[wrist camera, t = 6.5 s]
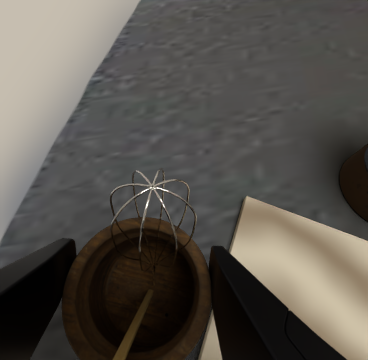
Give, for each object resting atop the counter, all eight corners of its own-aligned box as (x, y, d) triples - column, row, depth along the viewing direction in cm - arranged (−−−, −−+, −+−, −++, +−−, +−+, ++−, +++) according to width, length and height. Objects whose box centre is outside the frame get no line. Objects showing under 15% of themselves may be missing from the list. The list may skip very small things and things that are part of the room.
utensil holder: (207, 249, 15) (304, 153, 4) (188, 365, 12) (322, 874, 2) (121, 229, 15) (9, 91, 5) (84, 340, 13) (-412, 651, 2)
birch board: (377, 556, 14) (391, 574, 13) (171, 452, 16) (171, 462, 15) (379, 249, 23) (388, 248, 22) (243, 199, 24) (246, 196, 23)
